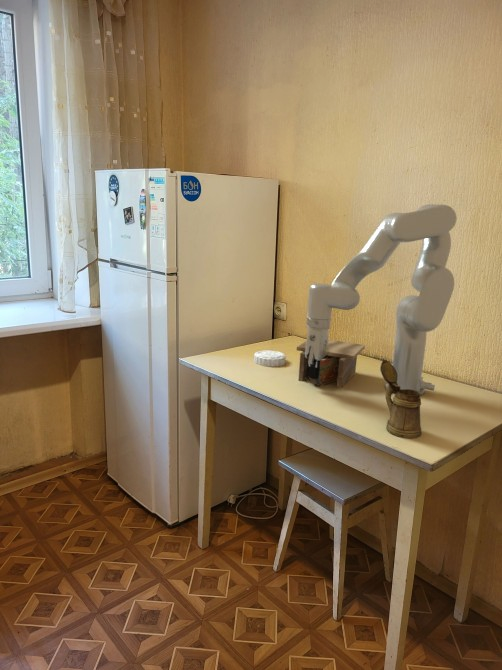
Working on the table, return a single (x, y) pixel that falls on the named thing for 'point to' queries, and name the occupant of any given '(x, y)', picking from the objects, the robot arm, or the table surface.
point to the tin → (327, 371)
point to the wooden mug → (401, 405)
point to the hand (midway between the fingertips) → (313, 377)
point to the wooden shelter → (335, 349)
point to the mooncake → (269, 358)
